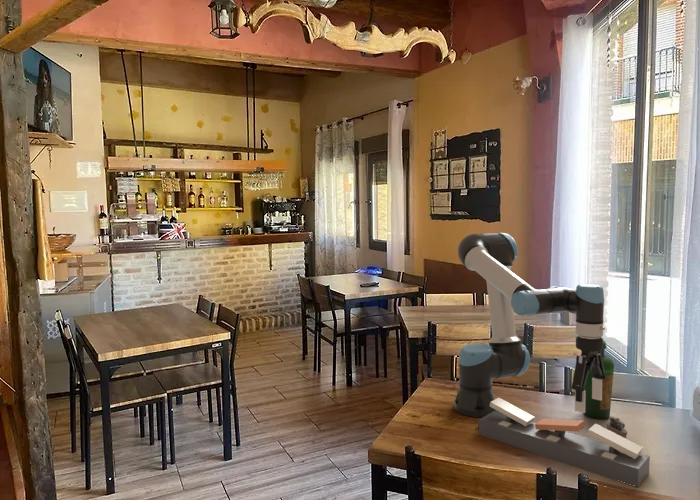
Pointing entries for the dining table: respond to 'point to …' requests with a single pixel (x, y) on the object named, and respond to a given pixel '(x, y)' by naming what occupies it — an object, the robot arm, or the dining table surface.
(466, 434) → the dining table surface
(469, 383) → the robot arm
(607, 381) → the bottle
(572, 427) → the rocker middle
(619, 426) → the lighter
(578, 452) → the rocker switch base
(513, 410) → the block
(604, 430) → the rocker right
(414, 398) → the dining table surface
